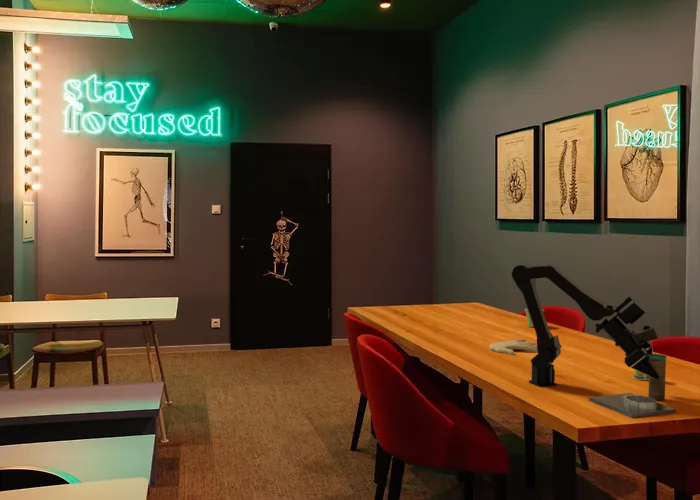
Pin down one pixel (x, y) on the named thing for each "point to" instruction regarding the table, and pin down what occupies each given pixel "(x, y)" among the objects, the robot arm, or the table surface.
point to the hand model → (513, 346)
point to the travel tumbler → (658, 384)
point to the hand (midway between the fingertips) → (659, 374)
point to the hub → (632, 405)
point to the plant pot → (529, 318)
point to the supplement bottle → (640, 375)
